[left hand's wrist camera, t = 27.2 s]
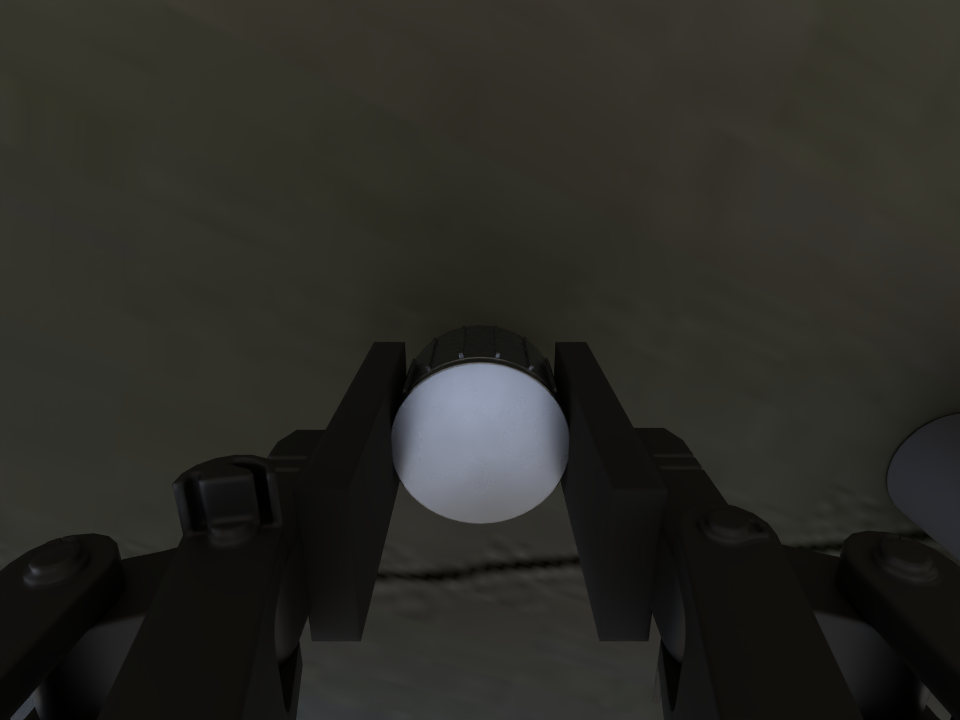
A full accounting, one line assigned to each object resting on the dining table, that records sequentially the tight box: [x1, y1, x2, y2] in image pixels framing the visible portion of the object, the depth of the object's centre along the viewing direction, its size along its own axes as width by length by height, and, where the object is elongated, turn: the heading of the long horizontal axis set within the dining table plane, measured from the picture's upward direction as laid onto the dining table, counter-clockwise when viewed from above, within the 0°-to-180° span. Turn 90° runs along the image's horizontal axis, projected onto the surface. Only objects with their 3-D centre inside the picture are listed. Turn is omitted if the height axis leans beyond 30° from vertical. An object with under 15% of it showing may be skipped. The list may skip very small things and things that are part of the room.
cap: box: [391, 326, 570, 524], centre depth 13 cm, size 4×4×3 cm
